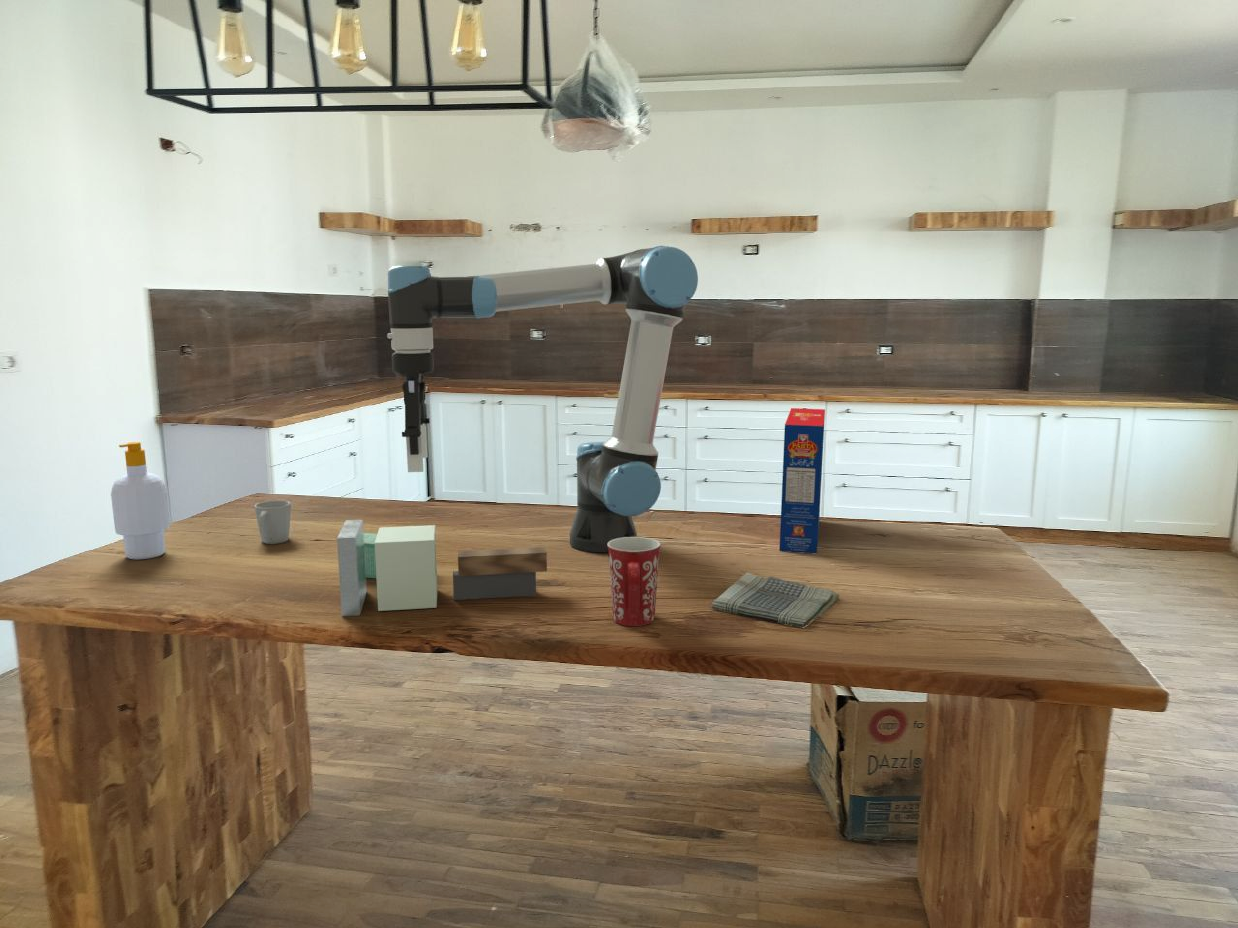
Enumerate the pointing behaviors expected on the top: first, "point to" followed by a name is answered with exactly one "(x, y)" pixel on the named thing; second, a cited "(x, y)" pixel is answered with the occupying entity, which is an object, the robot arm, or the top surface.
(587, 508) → the robot arm
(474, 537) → the top surface
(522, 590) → the rubber rail
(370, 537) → the box
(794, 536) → the pasta box
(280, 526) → the cup
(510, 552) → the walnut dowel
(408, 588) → the block
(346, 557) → the grey base plate
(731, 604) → the dish towel
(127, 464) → the soap bottle
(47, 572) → the top surface
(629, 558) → the mug
